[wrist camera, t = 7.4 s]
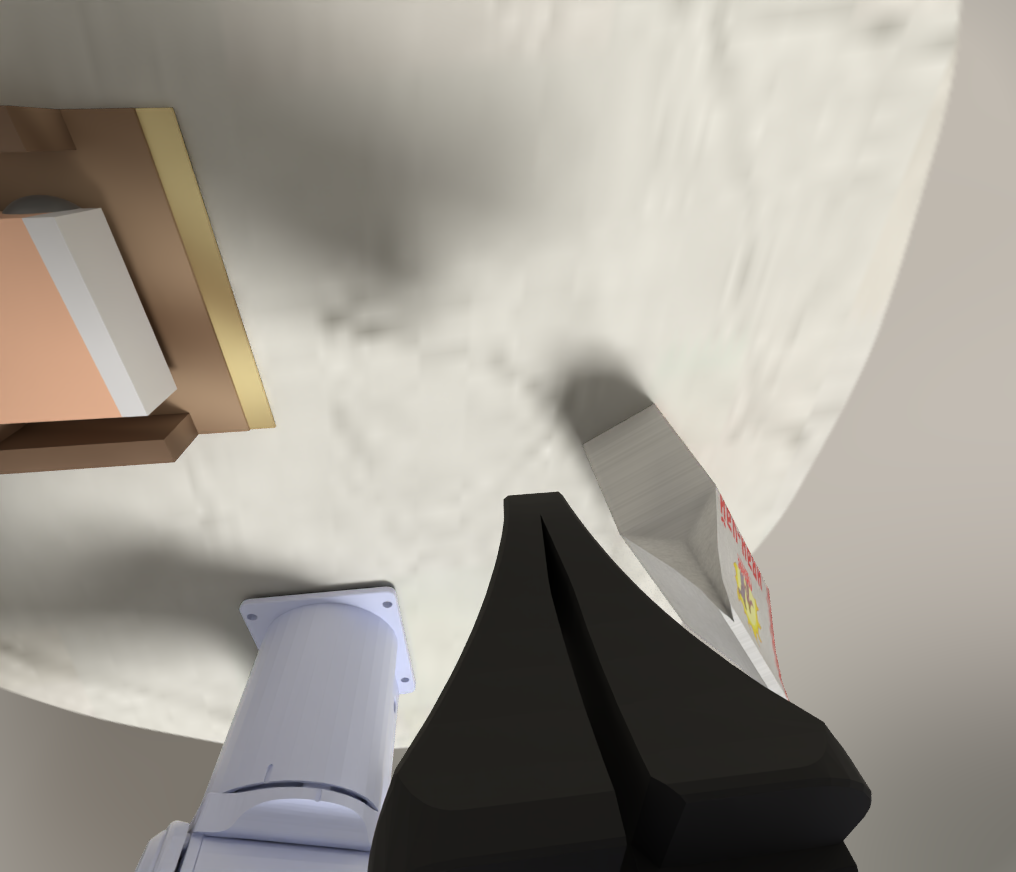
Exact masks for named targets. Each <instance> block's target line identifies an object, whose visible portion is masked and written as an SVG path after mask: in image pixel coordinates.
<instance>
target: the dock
mask: <svg viewBox="0 0 1016 872" xmlns="http://www.w3.org/2000/svg"><path fill="white" fill-rule="evenodd" d="M29 195H49V196H55V197H59V198H62V199H65V200H67V201H70V202H72V203H74V204H76V205H78V206H79V207H81V208H101V209H102V211H103V213H104V216H105V218H106V221H107V223H108V225H109V228H110V230H111V232H112V235H113V237H114V240H115V242H116V244H117V247H118V249H119V251H120V254H121V256H122V259H123V261H124V263H125V266H126V268H127V270H128V273H129V275H130V278H131V280H132V282H133V285H134V287H135V289H136V292H137V294H138V297H139V299H140V301H141V304H142V306H143V308H144V311H145V313H146V316H147V318H148V320H149V323H150V325H151V327H152V330H153V332H154V335H155V337H156V339H157V342H158V344H159V346H160V349H161V351H162V354H163V356H164V358H165V361H166V363H167V365H168V368H169V370H170V373H171V375H172V377H173V380H174V382H175V385H176V387H177V390H176V391H174V392H173V393H172V394H171V395H170V396H169V397H168V398H167V399H166V400H165V401H163V402H162V403H161V404H160V405H159V406H158V407H157V408H156V409H155V410H154V411H153V412H151V413H150V414H149V415H148V416H135V417H117V418H99V419H81V420H63V421H45V422H28V423H10V424H0V474H12V473H26V472H41V471H55V470H69V469H84V468H98V467H112V466H127V465H141V464H155V463H170V462H175V461H176V460H177V459H178V458H179V456H180V455H181V454H182V453H183V452H184V451H185V449H186V448H187V447H188V446H189V445H190V444H191V442H192V441H193V440H194V439H195V438H196V437H197V435H198V434H209V433H224V432H239V431H249V430H250V429H261V428H275V427H276V425H275V422H274V419H273V416H272V412H271V409H270V406H269V403H268V400H267V397H266V394H265V391H264V388H263V385H262V382H261V378H260V375H259V372H258V369H257V366H256V363H255V360H254V357H253V354H252V351H251V348H250V344H249V341H248V338H247V335H246V332H245V329H244V326H243V323H242V320H241V317H240V314H239V311H238V307H237V304H236V301H235V298H234V295H233V292H232V289H231V286H230V283H229V280H228V277H227V273H226V270H225V267H224V264H223V261H222V258H221V255H220V252H219V249H218V246H217V243H216V239H215V236H214V233H213V230H212V227H211V224H210V221H209V218H208V215H207V212H206V209H205V205H204V202H203V199H202V196H201V193H200V190H199V187H198V184H197V181H196V178H195V175H194V172H193V168H192V165H191V162H190V159H189V156H188V153H187V150H186V147H185V144H184V141H183V138H182V134H181V131H180V128H179V125H178V122H177V119H176V116H175V113H174V110H173V108H110V109H47V108H33V107H19V106H5V105H4V106H0V211H3V210H4V209H5V208H6V207H7V206H8V205H9V204H10V203H11V202H13V201H15V200H16V199H19V198H21V197H25V196H29Z"/></svg>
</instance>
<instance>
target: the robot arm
mask: <svg viewBox="0 0 1016 872" xmlns="http://www.w3.org/2000/svg"><path fill="white" fill-rule="evenodd" d="M386 601H389V602H386ZM239 611H240V613H241V615H242V617H243V619H244V621H245V623H246V625H247V628H248V630H249V632H250V634H251V636H252V638H253V640H254V642H255V644H256V646H257V648H258V650H259V652H258V654H257V657H256V660H255V662H254V665H253V668H252V670H251V673H250V676H249V678H248V681H247V684H246V686H245V689H244V691H243V694H242V697H241V699H240V702H239V705H238V707H237V710H236V713H235V715H234V718H233V721H232V723H231V726H230V729H229V731H228V734H227V737H226V739H225V742H224V745H223V747H222V750H221V753H220V755H219V758H218V760H217V763H216V766H215V768H214V771H213V774H212V777H211V779H210V782H209V784H208V787H207V790H206V792H205V795H204V798H203V800H202V803H201V806H200V807H199V809H198V811H197V812H196V814H195V816H194V818H193V820H192V821H191V823H190V825H189V823H187V822H182V821H178V820H177V821H173V822H172V823H171V824H169V826H168V827H167V829H166V830H163V831H162V832H160V833H159V834H157V835H156V836H155V837H153V838H152V839H150V841H149V842H148V844H147V846H146V848H145V850H144V852H143V855H142V857H141V859H140V861H139V863H138V865H137V867H136V870H135V872H858V869H857V865H856V863H855V862H854V860H853V858H852V856H851V854H850V852H849V851H848V849H847V847H846V845H845V844H844V842H843V840H844V839H845V838H846V837H847V836H848V835H849V834H850V832H851V831H852V830H853V829H854V828H855V827H856V826H857V824H858V823H859V822H860V821H861V820H862V819H863V818H864V816H865V815H866V813H867V812H868V810H869V808H870V805H871V790H870V789H869V787H868V786H867V784H866V782H865V781H864V780H863V778H862V776H861V775H860V773H859V772H858V770H857V768H856V767H855V765H854V764H853V762H852V760H851V759H850V758H849V756H848V755H847V753H846V752H845V750H844V749H843V747H842V746H841V745H840V744H839V742H838V741H837V740H836V738H835V737H834V736H833V734H832V733H831V732H830V730H829V729H828V728H827V726H826V725H825V723H824V722H823V721H821V720H819V719H818V718H816V717H814V716H813V715H811V714H809V713H808V712H806V711H804V710H803V709H801V708H799V707H798V706H796V705H795V704H793V703H791V702H790V701H788V700H786V699H785V698H783V697H781V696H780V695H778V694H776V693H775V692H773V691H771V690H770V689H768V688H766V687H765V686H763V685H762V684H760V683H759V682H757V681H756V680H754V679H753V678H751V677H750V676H748V675H747V674H745V673H744V672H742V671H741V670H739V669H738V668H736V667H735V666H733V665H732V664H731V663H729V662H728V661H726V660H725V659H724V658H723V657H721V656H720V655H719V654H717V653H716V652H715V651H713V650H712V649H711V648H709V647H708V646H707V645H705V644H704V643H703V642H701V641H700V640H699V639H697V638H696V637H695V636H693V635H692V634H691V633H689V632H688V631H687V630H686V629H684V628H683V627H682V626H681V625H680V624H679V623H678V622H676V621H675V620H674V619H673V618H672V617H670V616H669V615H668V614H667V613H666V612H665V611H664V610H662V609H661V608H660V607H659V606H658V605H657V604H656V603H655V602H654V601H652V600H651V599H650V598H649V597H648V596H647V595H646V594H645V593H644V592H643V591H642V590H641V589H640V588H639V587H638V586H637V585H636V584H635V583H634V582H633V581H632V580H631V579H630V578H629V577H628V576H627V575H626V574H625V573H624V572H623V571H622V570H621V569H620V568H619V566H618V565H617V564H616V563H615V562H614V561H613V560H612V559H611V558H610V556H609V555H608V554H607V553H606V552H605V551H604V549H603V548H602V547H601V546H600V545H599V543H598V542H597V541H596V540H595V539H594V538H593V536H592V535H591V534H590V533H589V531H588V530H587V529H586V527H585V526H584V525H583V524H582V522H581V521H580V520H579V518H578V517H577V516H576V514H575V513H574V511H573V510H572V509H571V507H570V506H569V504H568V503H567V501H566V500H565V498H564V497H563V495H562V494H561V493H559V492H548V493H535V494H523V495H510V496H507V497H506V498H505V499H504V524H503V531H502V537H501V542H500V546H499V551H498V555H497V560H496V563H495V567H494V570H493V573H492V577H491V580H490V583H489V586H488V590H487V593H486V596H485V598H484V601H483V604H482V607H481V609H480V612H479V615H478V617H477V620H476V622H475V624H474V627H473V629H472V632H471V634H470V636H469V638H468V641H467V643H466V645H465V647H464V649H463V652H462V654H461V656H460V658H459V660H458V662H457V664H456V666H455V668H454V670H453V672H452V674H451V676H450V678H449V680H448V682H447V683H446V685H445V687H444V689H443V691H442V693H441V694H440V696H439V698H438V700H437V702H436V704H435V705H434V707H433V709H432V711H431V713H430V714H429V716H428V718H427V719H426V721H425V723H424V724H423V726H422V728H421V729H420V731H419V732H418V734H417V736H416V737H415V739H414V740H413V742H412V743H411V745H410V747H409V748H408V750H407V752H406V753H405V755H404V756H403V758H402V759H401V761H400V763H399V764H398V766H397V767H396V769H395V772H394V775H393V777H392V780H391V771H392V761H393V751H394V740H395V730H396V720H397V709H398V699H399V694H406V693H411V692H413V691H414V690H415V684H416V683H415V678H414V673H413V669H412V664H411V659H410V655H409V650H408V645H407V641H406V636H405V631H404V627H403V622H402V617H401V613H400V608H399V603H398V599H397V594H396V591H395V589H393V588H391V587H375V588H364V589H353V590H342V591H331V592H320V593H309V594H298V595H287V596H276V597H265V598H254V599H247V600H244V601H243V602H242V603H241V605H240V608H239ZM390 782H391V783H390Z"/></svg>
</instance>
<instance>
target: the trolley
mask: <svg viewBox="0 0 1016 872" xmlns="http://www.w3.org/2000/svg"><path fill="white" fill-rule="evenodd" d="M176 390H177V387H176V385H175V382H174V380H173V377H172V375H171V373H170V370H169V368H168V365H167V363H166V361H165V358H164V356H163V354H162V351H161V349H160V346H159V344H158V342H157V339H156V337H155V335H154V332H153V330H152V327H151V325H150V323H149V320H148V318H147V316H146V313H145V311H144V308H143V306H142V304H141V301H140V299H139V297H138V294H137V292H136V289H135V287H134V285H133V282H132V280H131V278H130V275H129V273H128V270H127V268H126V266H125V263H124V261H123V259H122V256H121V254H120V251H119V249H118V247H117V244H116V242H115V240H114V237H113V235H112V232H111V230H110V228H109V225H108V223H107V221H106V218H105V216H104V213H103V211H102V209H101V208H81V207H79V206H78V205H76V204H74V203H72V202H70V201H67V200H65V199H62V198H59V197H55V196H49V195H29V196H25V197H21V198H19V199H16V200H15V201H13V202H11V203H10V204H9V205H8V206H7V207H6V208H5V209H4V210H3V211H0V424H10V423H28V422H45V421H63V420H81V419H99V418H117V417H135V416H148V415H149V414H150V413H151V412H153V411H154V410H155V409H156V408H157V407H158V406H159V405H160V404H161V403H162V402H163V401H165V400H166V399H167V398H168V397H169V396H170V395H171V394H172V393H173V392H174V391H176Z"/></svg>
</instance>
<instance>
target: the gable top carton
mask: <svg viewBox="0 0 1016 872" xmlns="http://www.w3.org/2000/svg"><path fill="white" fill-rule="evenodd" d="M583 448H584V450H585V453H586V455H587V457H588V460H589V462H590V464H591V467H592V469H593V472H594V474H595V476H596V479H597V481H598V483H599V486H600V488H601V491H602V493H603V495H604V498H605V500H606V502H607V505H608V507H609V510H610V512H611V514H612V517H613V519H614V521H615V524H616V526H617V529H618V531H619V533H620V535H621V536H622V538H623V539H624V541H625V542H626V543H627V545H628V546H629V548H630V549H631V550H632V552H633V553H634V555H635V556H636V557H637V559H638V560H639V562H640V563H641V564H642V566H643V567H644V568H645V570H646V571H647V573H648V574H649V575H650V577H651V578H652V580H653V581H654V582H655V584H656V585H657V587H658V588H659V589H660V591H661V592H662V594H663V595H664V596H665V598H666V599H667V600H668V602H669V603H670V605H671V606H672V607H673V609H674V610H675V612H676V613H677V614H678V616H679V617H680V619H681V620H682V621H683V623H684V624H685V626H686V627H687V628H689V629H690V630H691V631H693V632H694V633H695V634H697V635H698V636H700V637H701V638H702V639H703V640H705V641H706V642H707V643H709V644H710V645H711V646H712V647H714V648H715V649H716V650H718V651H719V652H721V653H722V654H723V655H724V656H726V657H727V658H728V659H730V660H731V661H732V662H734V663H735V664H736V665H738V666H739V667H740V668H742V670H743V671H745V672H746V673H747V674H748V675H749V676H750V677H751V678H753V679H754V680H756V681H757V682H759V683H760V684H762V685H763V686H765V687H766V688H768V689H770V690H771V691H773V692H775V693H776V694H779V695H780V696H781V697H783V698H785V699H786V700H788V701H789V699H788V696H787V694H786V691H785V688H784V685H783V683H782V679H781V674H780V670H779V665H778V660H777V656H776V651H775V642H774V633H773V623H772V615H771V605H770V597H769V589H768V587H767V585H766V583H765V581H764V580H763V577H762V575H761V573H760V571H759V569H758V567H757V565H756V564H755V561H754V560H753V557H752V555H751V553H750V551H749V550H748V548H747V546H746V544H745V542H744V540H743V538H742V536H741V534H740V532H739V530H738V528H737V526H736V524H735V522H734V520H733V518H732V516H731V514H730V512H729V510H728V508H727V506H726V504H725V502H724V500H723V498H722V496H721V494H720V492H719V490H718V488H717V486H716V485H715V483H714V482H713V481H712V479H711V478H710V477H709V475H708V474H707V473H706V471H705V470H704V469H703V467H702V466H701V465H700V463H699V462H698V461H697V459H696V458H695V457H694V456H693V454H692V453H691V452H690V450H689V449H688V448H687V446H686V445H685V444H684V442H683V441H682V440H681V438H680V437H679V436H678V434H677V433H676V432H675V430H674V429H673V428H672V426H671V425H670V424H669V422H668V421H667V420H666V419H665V417H664V416H663V415H662V413H661V412H660V411H659V409H658V408H657V407H656V405H655V404H653V405H651V406H649V407H648V408H646V409H644V410H642V411H641V412H639V413H637V414H635V415H634V416H632V417H630V418H628V419H627V420H625V421H623V422H621V423H620V424H618V425H616V426H614V427H612V428H611V429H609V430H607V431H605V432H604V433H602V434H600V435H598V436H597V437H595V438H593V439H591V440H590V441H588V442H586V443H584V444H583Z"/></svg>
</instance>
